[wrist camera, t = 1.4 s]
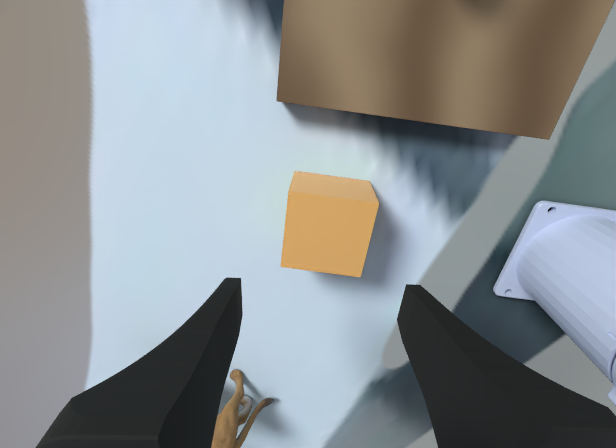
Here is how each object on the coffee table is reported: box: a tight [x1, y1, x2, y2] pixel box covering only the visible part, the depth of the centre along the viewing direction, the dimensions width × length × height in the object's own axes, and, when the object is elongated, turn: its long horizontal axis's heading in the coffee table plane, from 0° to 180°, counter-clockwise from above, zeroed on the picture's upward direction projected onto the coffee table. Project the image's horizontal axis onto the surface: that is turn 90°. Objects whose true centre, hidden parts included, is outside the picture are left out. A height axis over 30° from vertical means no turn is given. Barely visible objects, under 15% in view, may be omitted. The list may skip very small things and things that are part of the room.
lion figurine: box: [211, 370, 274, 448], centre depth 26 cm, size 15×5×9 cm, turn 65°
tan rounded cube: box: [281, 171, 379, 277], centre depth 20 cm, size 5×5×4 cm
